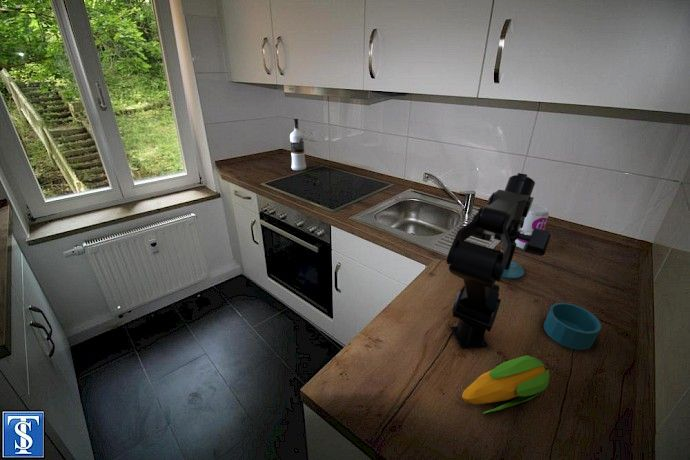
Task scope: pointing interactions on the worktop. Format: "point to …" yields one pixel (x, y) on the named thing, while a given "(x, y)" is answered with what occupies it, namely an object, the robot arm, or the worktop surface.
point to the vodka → (297, 148)
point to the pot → (572, 326)
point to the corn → (509, 383)
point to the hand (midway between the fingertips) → (506, 244)
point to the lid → (512, 267)
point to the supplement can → (533, 221)
